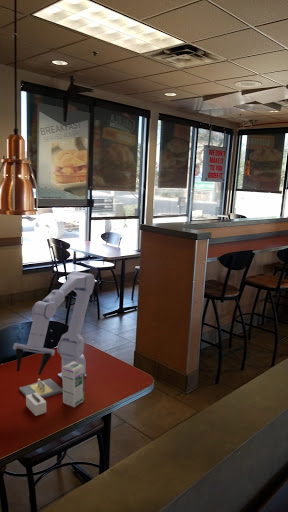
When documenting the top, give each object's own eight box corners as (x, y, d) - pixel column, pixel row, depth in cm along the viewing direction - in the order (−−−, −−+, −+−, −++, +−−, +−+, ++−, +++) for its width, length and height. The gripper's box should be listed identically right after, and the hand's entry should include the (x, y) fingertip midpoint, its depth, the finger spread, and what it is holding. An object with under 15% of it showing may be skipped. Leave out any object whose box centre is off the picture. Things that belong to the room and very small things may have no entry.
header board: (50, 380, 162) (50, 371, 162) (63, 391, 154) (63, 382, 153) (19, 390, 154) (19, 380, 154) (31, 402, 146) (31, 392, 145)
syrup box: (74, 407, 143) (74, 370, 141) (62, 402, 146) (62, 365, 144) (84, 401, 148) (85, 364, 146) (72, 396, 151) (72, 360, 149)
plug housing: (36, 402, 146) (36, 390, 145) (46, 412, 140) (46, 399, 139) (26, 405, 144) (25, 393, 143) (35, 416, 138) (35, 403, 137)
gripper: (18, 331, 138) (8, 371, 136) (59, 339, 143) (50, 377, 140) (16, 330, 145) (7, 368, 142) (56, 337, 149) (47, 374, 147)
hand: (28, 372), depth 142 cm, fingers open, 7 cm apart
